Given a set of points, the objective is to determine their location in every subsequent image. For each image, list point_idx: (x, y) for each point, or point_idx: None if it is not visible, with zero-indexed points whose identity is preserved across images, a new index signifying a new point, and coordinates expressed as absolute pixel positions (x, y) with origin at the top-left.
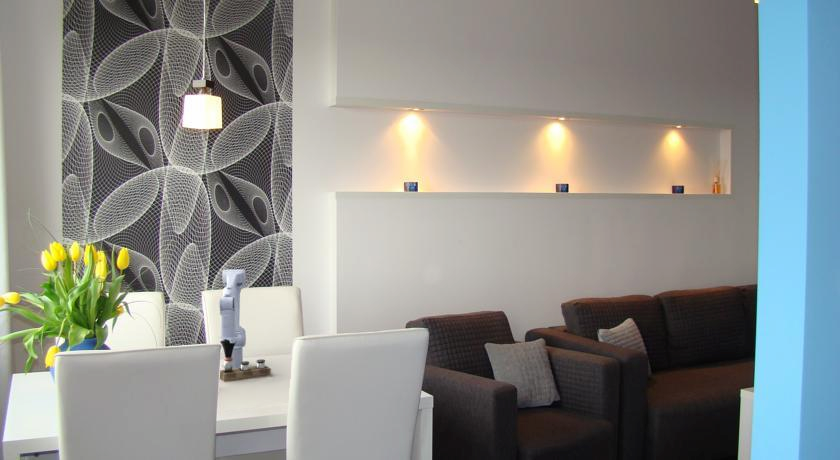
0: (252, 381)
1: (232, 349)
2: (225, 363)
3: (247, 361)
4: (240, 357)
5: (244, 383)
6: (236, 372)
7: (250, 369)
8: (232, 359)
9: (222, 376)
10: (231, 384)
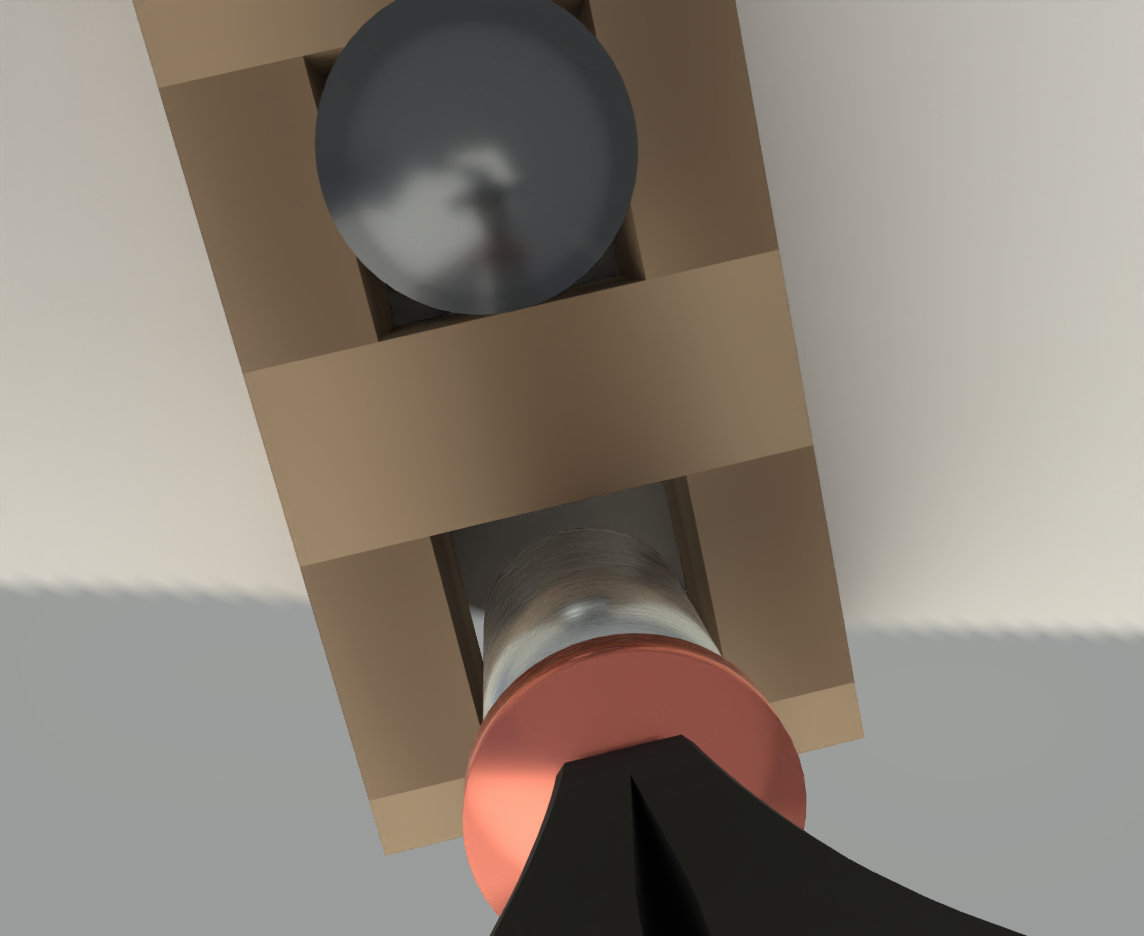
0: (1029, 49)
1: (874, 894)
2: None
3: (380, 39)
4: None
5: (1138, 251)
6: (763, 431)
7: None
8: (704, 653)
9: None
10: (1107, 527)
